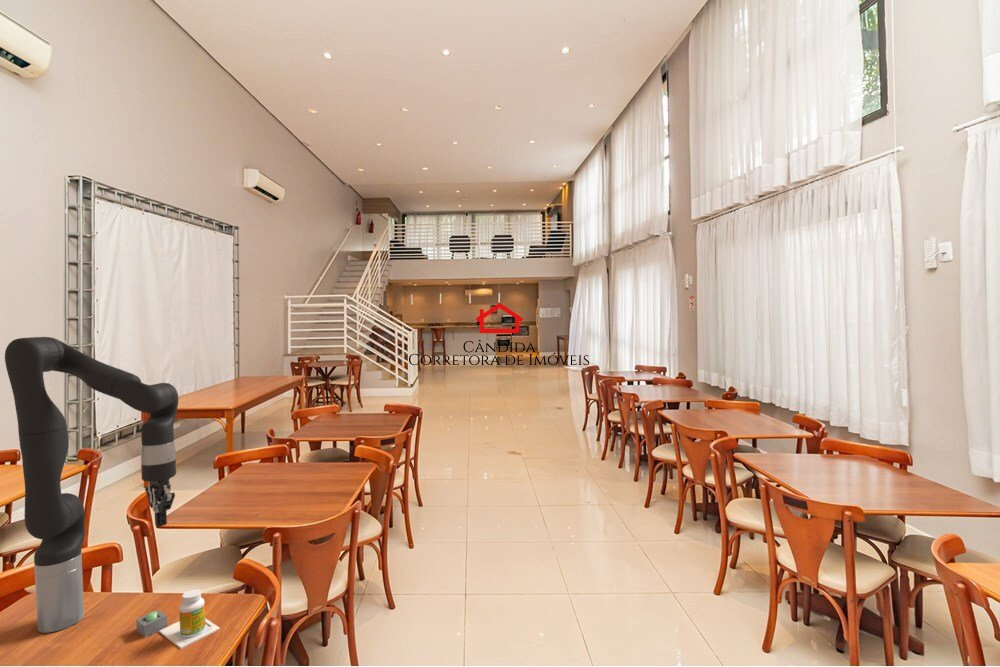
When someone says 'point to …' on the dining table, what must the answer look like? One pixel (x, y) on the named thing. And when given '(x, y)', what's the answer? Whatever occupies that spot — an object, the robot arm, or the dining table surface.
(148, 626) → the button housing
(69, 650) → the dining table surface
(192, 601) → the supplement bottle
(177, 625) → the white flat block
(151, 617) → the button
